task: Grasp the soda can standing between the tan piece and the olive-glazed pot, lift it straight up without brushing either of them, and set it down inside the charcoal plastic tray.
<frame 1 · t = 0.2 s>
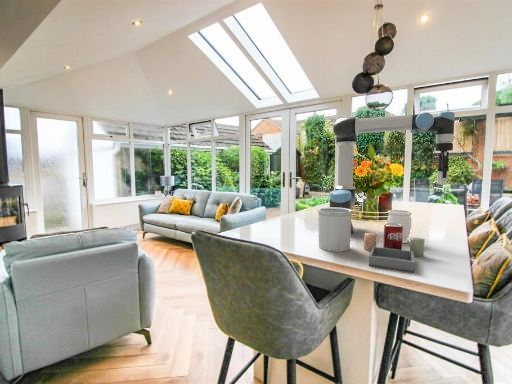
hand: (441, 184, 145), 28 cm above the kitchen island, fingers open, 13 cm apart
utensil holder: (333, 247, 126), on the kitchen island
soda can: (392, 253, 119), on the kitchen island
tray: (391, 262, 106), on the kitchen island
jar: (398, 241, 137), on the kitchen island
olive pot: (416, 255, 115), on the kitchen island
tan piece: (369, 249, 123), on the kitchen island
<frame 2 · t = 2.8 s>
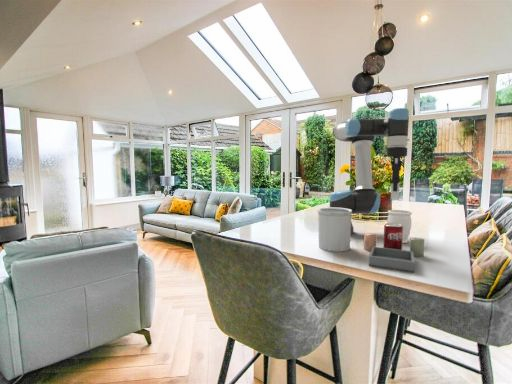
hand: (395, 198, 117), 23 cm above the kitchen island, fingers open, 13 cm apart
nothing on the kitchen island moved.
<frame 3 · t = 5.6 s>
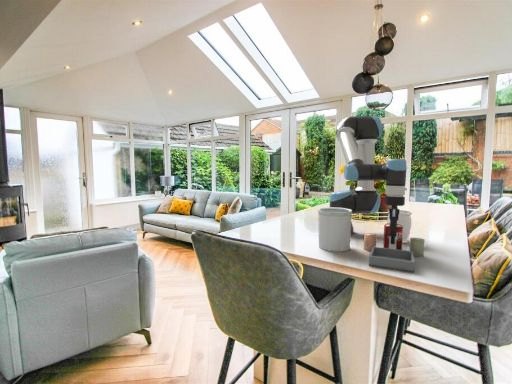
hand: (392, 248, 119), 2 cm above the kitchen island, fingers closed on soda can, 7 cm apart
soda can: (392, 252, 119), on the kitchen island, touching gripper
everything else where it was.
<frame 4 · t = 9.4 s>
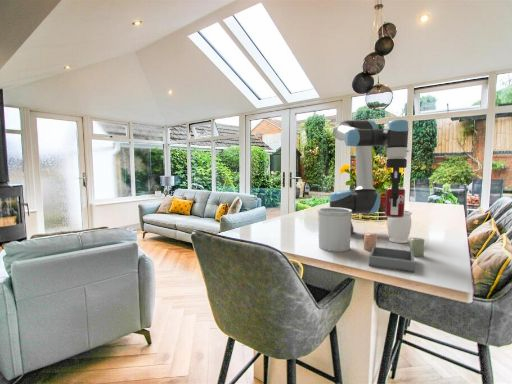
hand: (394, 213, 116), 17 cm above the kitchen island, fingers closed on soda can, 7 cm apart
soda can: (394, 217, 117), point 15 cm above the kitchen island, touching gripper
everything else where it was.
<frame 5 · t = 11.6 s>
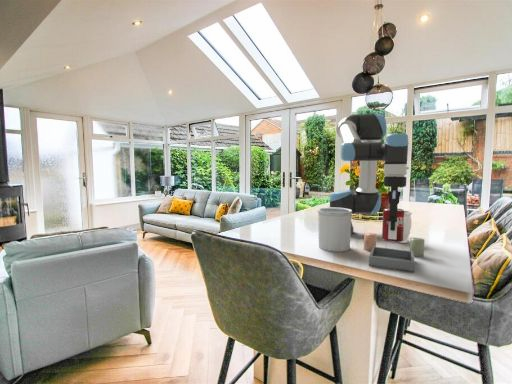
hand: (392, 236, 105), 10 cm above the kitchen island, fingers closed on soda can, 7 cm apart
soda can: (392, 241, 105), point 8 cm above the kitchen island, touching gripper
everything else where it was.
when the fingers open (4 cm above the kitchen island, at t = 13.5 s): soda can drops 2 cm, resting on tray.
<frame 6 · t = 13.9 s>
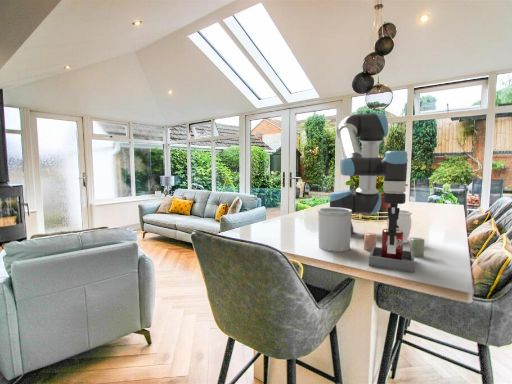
hand: (391, 248, 105), 6 cm above the kitchen island, fingers open, 12 cm apart
soda can: (391, 261, 106), resting on tray
everything else where it was.
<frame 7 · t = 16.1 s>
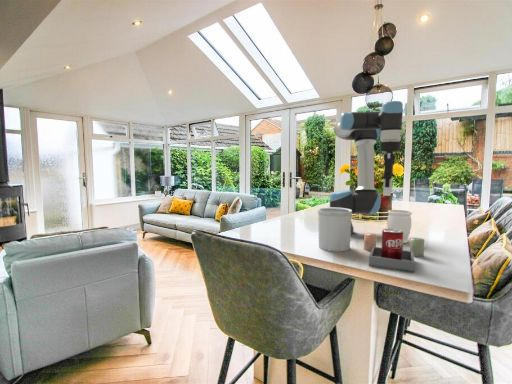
hand: (387, 193, 114), 26 cm above the kitchen island, fingers open, 13 cm apart
nothing on the kitchen island moved.
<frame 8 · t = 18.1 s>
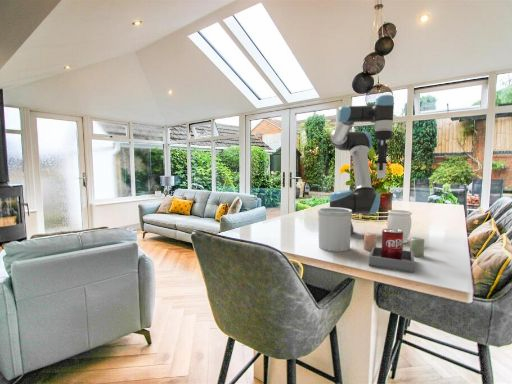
hand: (381, 177, 128), 32 cm above the kitchen island, fingers open, 13 cm apart
nothing on the kitchen island moved.
at the end: soda can inside the target area on the tray (0.2 cm from its centre), point 0.4 cm above the tray's base; tan piece moved 0.0 cm from its start; olive pot moved 0.0 cm from its start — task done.
